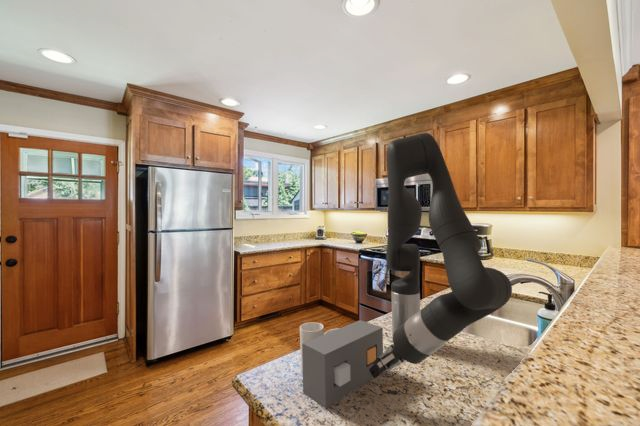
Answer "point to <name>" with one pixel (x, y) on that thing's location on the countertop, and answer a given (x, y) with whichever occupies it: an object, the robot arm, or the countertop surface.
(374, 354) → the orange button
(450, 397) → the countertop surface
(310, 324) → the mug
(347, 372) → the white cube
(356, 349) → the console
